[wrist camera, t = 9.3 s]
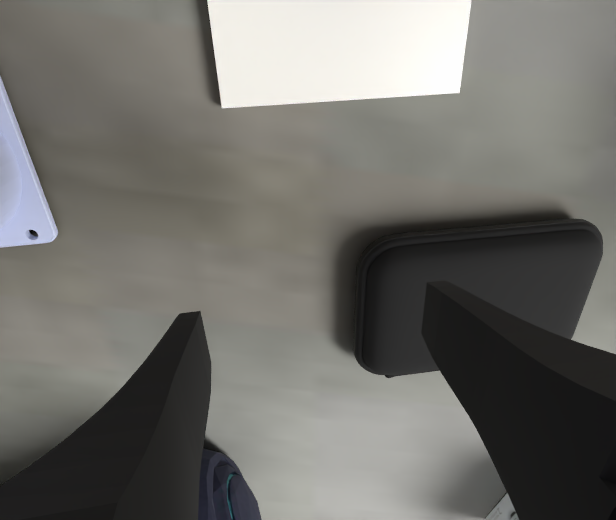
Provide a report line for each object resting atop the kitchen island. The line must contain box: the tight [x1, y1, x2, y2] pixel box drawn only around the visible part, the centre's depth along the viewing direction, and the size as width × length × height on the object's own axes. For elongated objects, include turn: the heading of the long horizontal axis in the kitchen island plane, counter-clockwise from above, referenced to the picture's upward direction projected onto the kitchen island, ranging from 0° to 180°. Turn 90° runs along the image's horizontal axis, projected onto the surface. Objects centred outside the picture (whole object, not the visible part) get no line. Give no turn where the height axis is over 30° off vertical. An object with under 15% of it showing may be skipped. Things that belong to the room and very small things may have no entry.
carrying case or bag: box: [353, 219, 603, 378], centre depth 24 cm, size 11×3×15 cm
